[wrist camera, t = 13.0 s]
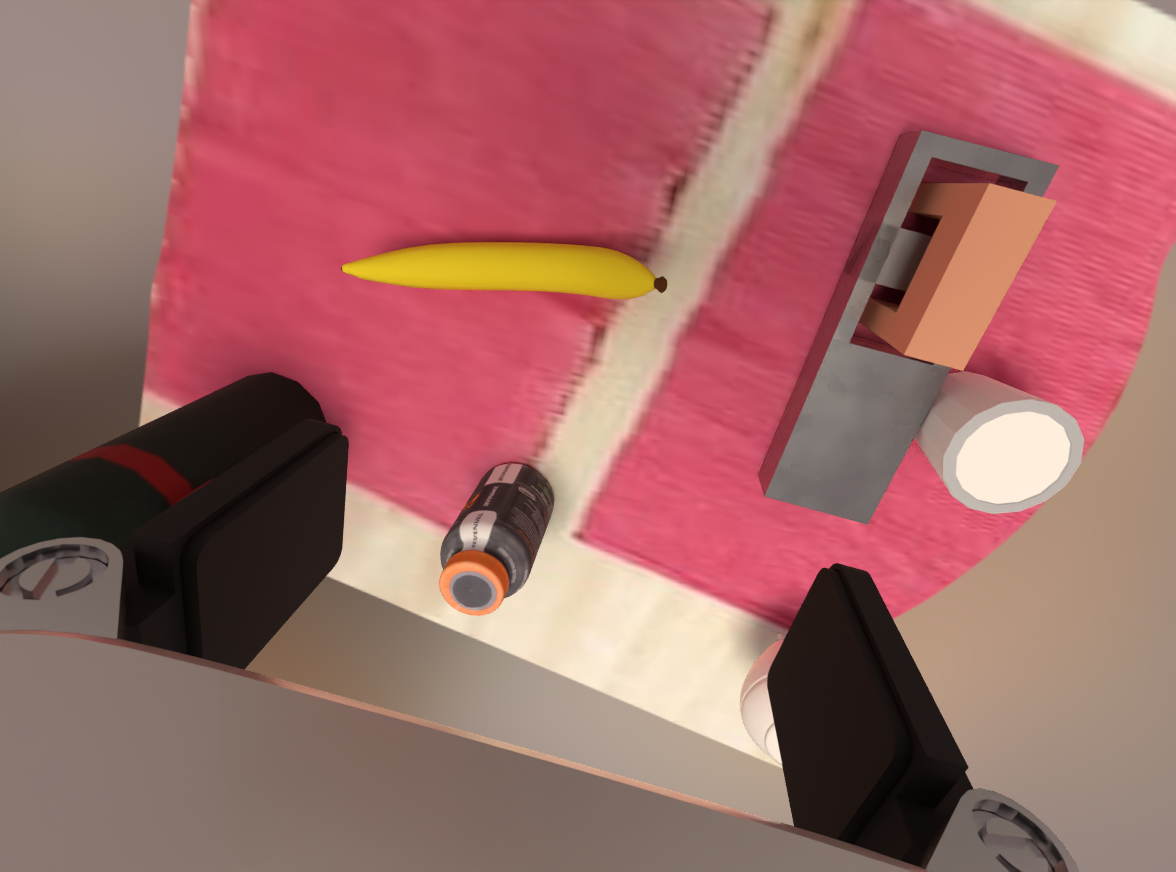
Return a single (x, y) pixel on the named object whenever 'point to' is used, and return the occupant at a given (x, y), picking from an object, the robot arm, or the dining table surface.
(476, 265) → the banana
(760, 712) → the spinning top
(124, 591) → the robot arm
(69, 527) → the wine bottle
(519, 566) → the pill bottle
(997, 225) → the orange block
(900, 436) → the grey slotted block
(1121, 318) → the dining table surface
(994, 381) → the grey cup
